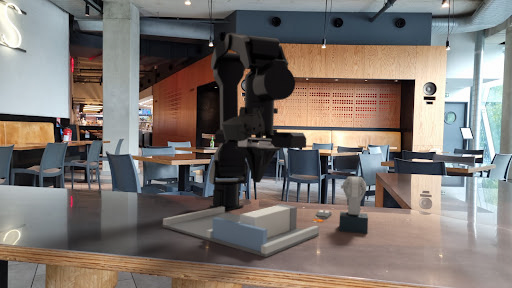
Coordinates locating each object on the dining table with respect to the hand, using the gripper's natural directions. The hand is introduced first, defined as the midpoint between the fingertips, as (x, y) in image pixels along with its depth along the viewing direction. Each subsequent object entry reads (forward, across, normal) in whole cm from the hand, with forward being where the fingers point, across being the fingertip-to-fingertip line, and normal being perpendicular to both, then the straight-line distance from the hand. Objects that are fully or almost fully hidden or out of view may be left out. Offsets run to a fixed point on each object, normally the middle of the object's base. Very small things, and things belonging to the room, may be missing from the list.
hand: (256, 182), depth 74 cm
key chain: (+11, +4, +18) cm, 22 cm away
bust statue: (+10, +14, +15) cm, 23 cm away
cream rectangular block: (+9, +4, -2) cm, 10 cm away
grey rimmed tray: (+10, -2, -2) cm, 10 cm away
